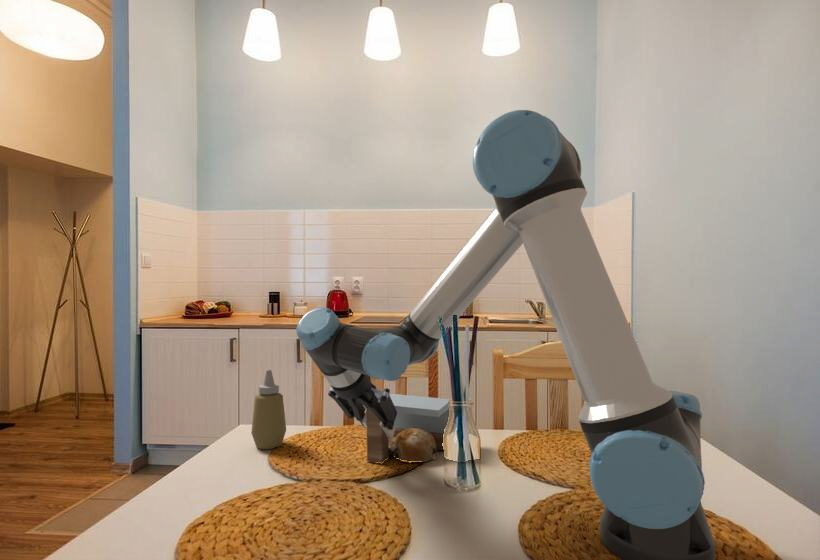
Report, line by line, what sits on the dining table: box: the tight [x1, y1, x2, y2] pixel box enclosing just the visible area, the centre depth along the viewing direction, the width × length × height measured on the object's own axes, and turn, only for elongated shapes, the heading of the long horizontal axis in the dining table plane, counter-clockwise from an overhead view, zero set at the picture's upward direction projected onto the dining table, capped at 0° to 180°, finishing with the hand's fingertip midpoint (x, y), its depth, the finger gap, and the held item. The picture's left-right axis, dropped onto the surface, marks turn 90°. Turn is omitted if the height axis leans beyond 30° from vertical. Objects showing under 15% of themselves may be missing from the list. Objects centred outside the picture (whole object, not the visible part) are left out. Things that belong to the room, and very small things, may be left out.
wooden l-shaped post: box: [366, 408, 444, 463], centre depth 108 cm, size 14×15×12 cm
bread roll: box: [389, 427, 437, 463], centre depth 108 cm, size 10×10×8 cm
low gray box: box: [389, 393, 450, 434], centre depth 115 cm, size 10×16×10 cm, turn 68°
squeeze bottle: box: [251, 369, 287, 450], centre depth 115 cm, size 8×8×18 cm
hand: (383, 432), depth 108 cm, fingers closed on wooden l-shaped post, 3 cm apart
